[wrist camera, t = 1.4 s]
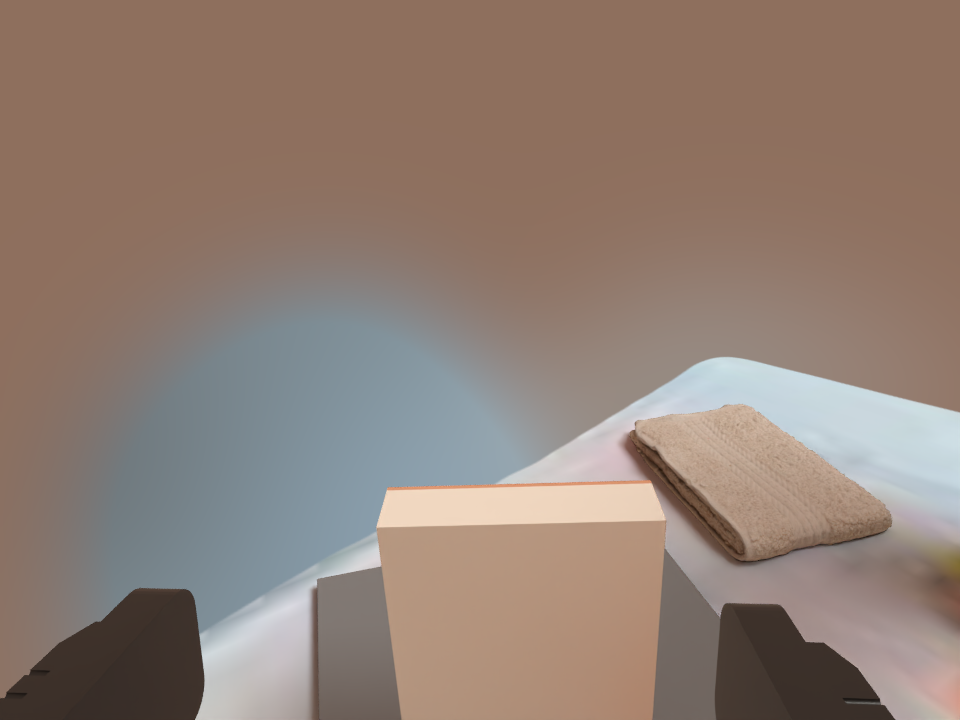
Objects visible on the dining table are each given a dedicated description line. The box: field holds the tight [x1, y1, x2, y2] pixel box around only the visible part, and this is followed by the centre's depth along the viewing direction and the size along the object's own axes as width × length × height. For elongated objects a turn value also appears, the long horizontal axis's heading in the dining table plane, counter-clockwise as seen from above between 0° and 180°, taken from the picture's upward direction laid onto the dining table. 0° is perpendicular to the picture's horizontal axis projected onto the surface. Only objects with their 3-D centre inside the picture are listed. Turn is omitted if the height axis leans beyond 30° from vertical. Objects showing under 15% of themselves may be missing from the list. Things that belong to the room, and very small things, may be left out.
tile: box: [377, 480, 666, 720], centre depth 26 cm, size 10×2×14 cm, turn 88°
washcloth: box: [630, 404, 892, 561], centre depth 50 cm, size 12×18×3 cm, turn 14°
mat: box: [317, 548, 720, 720], centre depth 35 cm, size 22×18×1 cm
